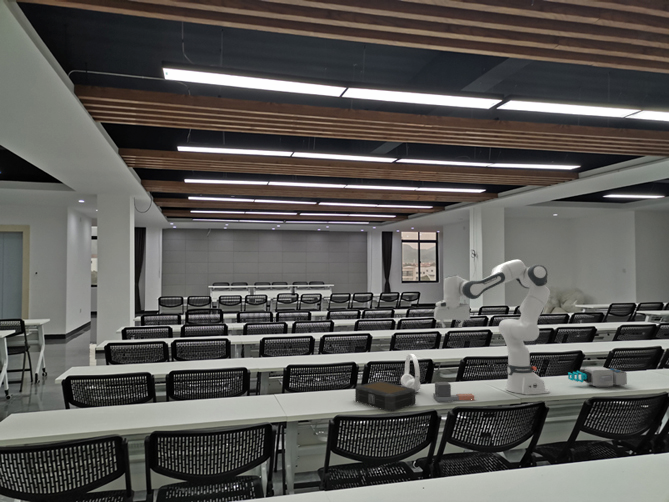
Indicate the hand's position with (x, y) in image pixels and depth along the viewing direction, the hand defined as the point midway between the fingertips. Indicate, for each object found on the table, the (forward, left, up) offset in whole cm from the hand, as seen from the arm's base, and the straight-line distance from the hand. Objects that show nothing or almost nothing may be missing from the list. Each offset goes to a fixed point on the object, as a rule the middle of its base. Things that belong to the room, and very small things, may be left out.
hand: (452, 327), depth 263 cm
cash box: (+44, +25, -35) cm, 61 cm away
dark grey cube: (+13, +23, -32) cm, 41 cm away
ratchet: (+7, +23, -34) cm, 42 cm away
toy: (-83, +2, -34) cm, 90 cm away
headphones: (+25, +2, -34) cm, 43 cm away
